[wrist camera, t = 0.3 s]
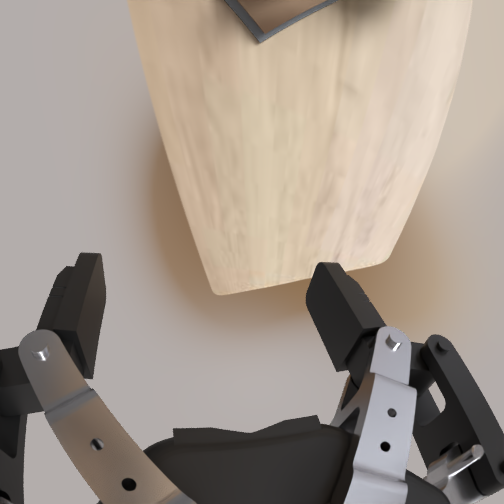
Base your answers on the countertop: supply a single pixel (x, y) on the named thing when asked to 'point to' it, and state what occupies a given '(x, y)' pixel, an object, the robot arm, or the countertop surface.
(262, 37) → the mat
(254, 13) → the lid
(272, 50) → the countertop surface
